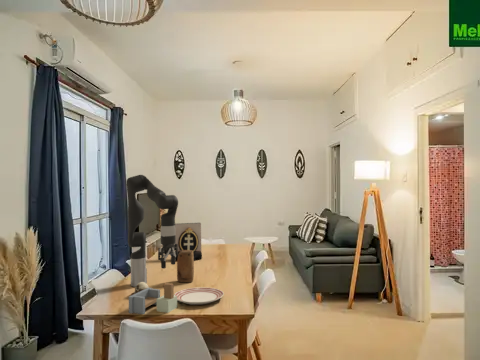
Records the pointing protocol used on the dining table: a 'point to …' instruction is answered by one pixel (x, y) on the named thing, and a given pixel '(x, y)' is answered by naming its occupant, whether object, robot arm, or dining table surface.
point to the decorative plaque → (189, 238)
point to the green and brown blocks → (167, 299)
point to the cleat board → (143, 300)
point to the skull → (140, 287)
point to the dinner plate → (199, 295)
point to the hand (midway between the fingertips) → (168, 266)
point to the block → (185, 266)
